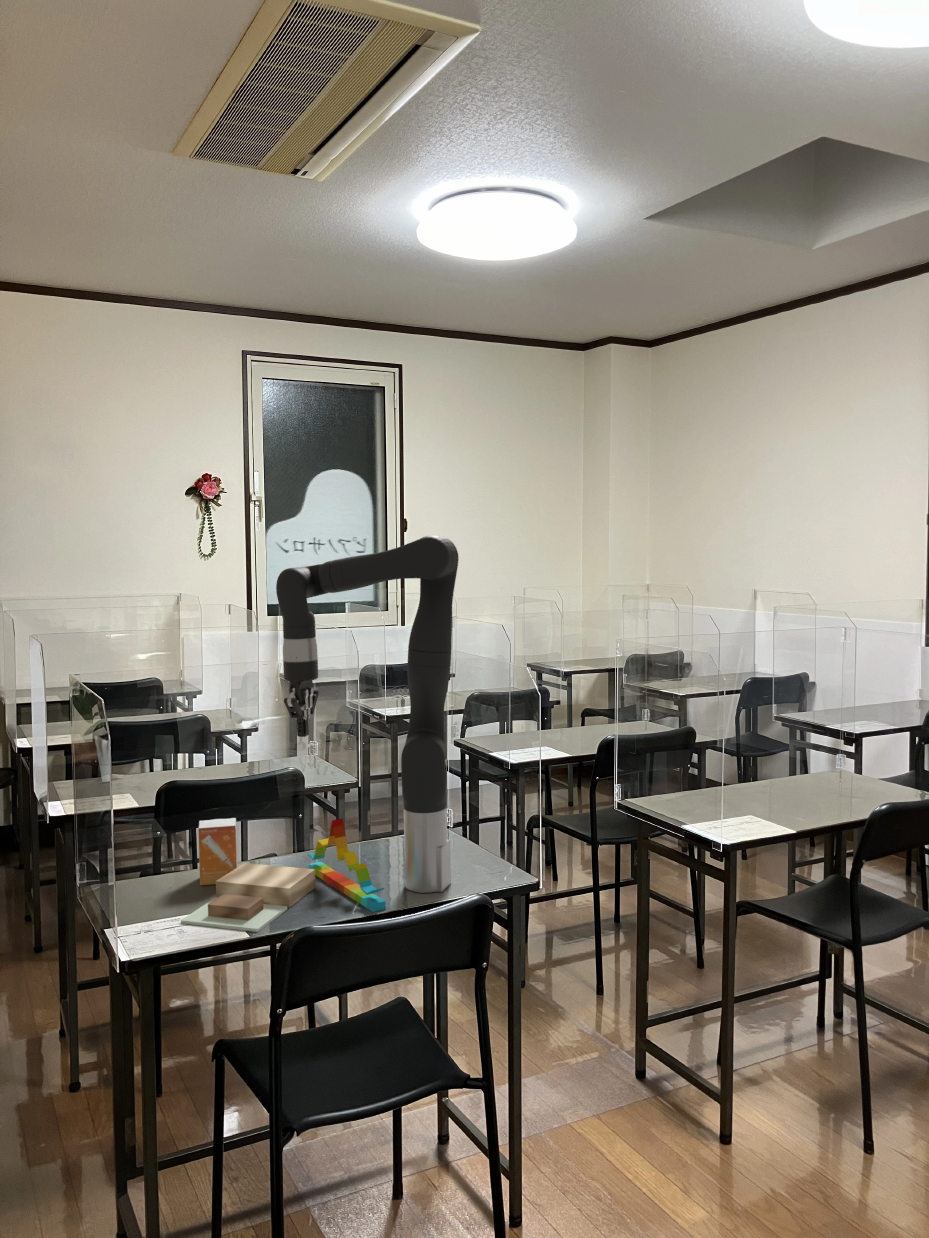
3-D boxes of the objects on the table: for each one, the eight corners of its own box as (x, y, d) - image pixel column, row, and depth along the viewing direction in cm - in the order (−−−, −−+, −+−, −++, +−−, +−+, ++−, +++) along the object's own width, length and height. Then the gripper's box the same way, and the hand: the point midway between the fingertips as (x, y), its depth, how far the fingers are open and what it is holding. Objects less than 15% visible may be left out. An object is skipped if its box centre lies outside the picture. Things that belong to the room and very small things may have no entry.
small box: (199, 886, 215) (197, 827, 214) (200, 876, 221) (198, 819, 220) (238, 882, 217) (235, 824, 216) (238, 873, 223) (235, 817, 222)
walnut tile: (248, 908, 193) (248, 920, 193) (263, 897, 199) (263, 909, 199) (207, 904, 196) (208, 916, 196) (223, 893, 201) (223, 905, 202)
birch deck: (315, 887, 213) (314, 869, 212) (289, 907, 201) (288, 888, 201) (245, 880, 218) (244, 862, 218) (216, 899, 206) (215, 881, 206)
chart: (386, 909, 200) (385, 837, 199) (372, 913, 198) (371, 840, 197) (321, 869, 225) (319, 805, 224) (309, 872, 224) (306, 807, 222)
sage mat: (287, 909, 200) (287, 906, 200) (257, 931, 189) (257, 928, 189) (213, 901, 206) (213, 898, 205) (180, 923, 194) (180, 920, 194)
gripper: (302, 662, 209) (305, 742, 211) (328, 654, 222) (331, 730, 223) (270, 661, 211) (273, 741, 213) (298, 654, 224) (301, 729, 225)
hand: (303, 735), depth 218 cm, fingers closed
